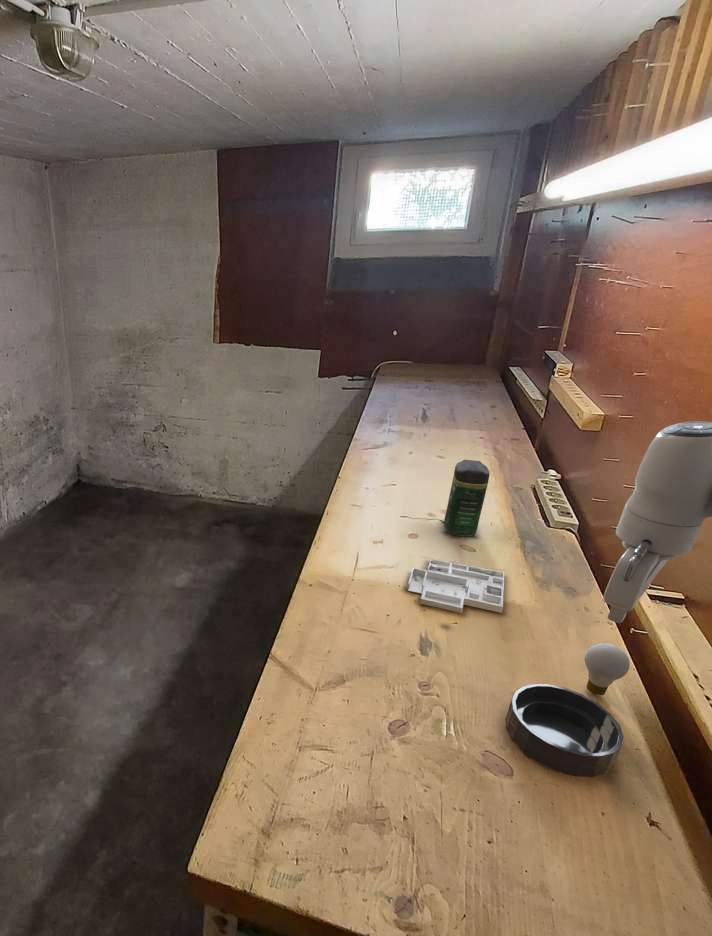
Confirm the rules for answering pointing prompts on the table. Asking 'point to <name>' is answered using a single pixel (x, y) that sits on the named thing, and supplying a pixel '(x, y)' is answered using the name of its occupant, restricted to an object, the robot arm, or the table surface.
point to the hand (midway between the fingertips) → (624, 607)
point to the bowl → (564, 730)
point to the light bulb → (605, 666)
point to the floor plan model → (458, 586)
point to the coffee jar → (466, 497)
